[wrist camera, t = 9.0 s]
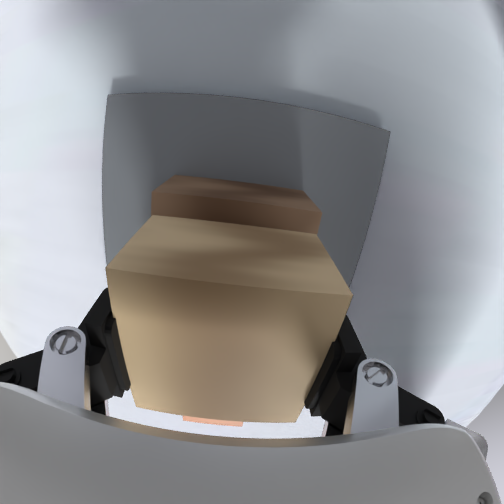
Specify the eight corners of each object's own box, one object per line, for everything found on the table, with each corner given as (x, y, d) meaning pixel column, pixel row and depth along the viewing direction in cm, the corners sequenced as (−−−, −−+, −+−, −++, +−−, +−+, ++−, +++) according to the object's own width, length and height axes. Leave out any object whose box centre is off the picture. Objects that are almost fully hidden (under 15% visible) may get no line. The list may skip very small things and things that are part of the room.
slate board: (382, 130, 14) (390, 131, 13) (322, 341, 21) (324, 349, 20) (115, 95, 13) (107, 94, 12) (120, 318, 19) (116, 327, 19)
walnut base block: (303, 190, 15) (322, 212, 11) (280, 298, 18) (288, 340, 14) (174, 174, 14) (151, 191, 11) (171, 285, 17) (155, 326, 13)
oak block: (316, 234, 10) (353, 295, 6) (284, 351, 13) (295, 422, 9) (152, 214, 10) (105, 267, 6) (157, 338, 12) (136, 406, 8)
